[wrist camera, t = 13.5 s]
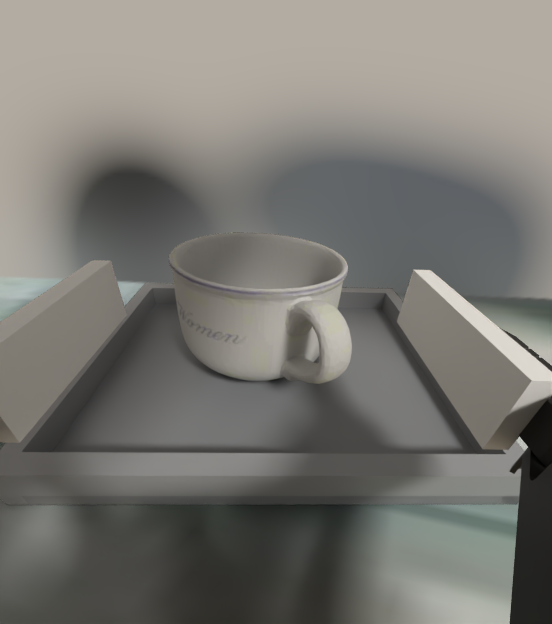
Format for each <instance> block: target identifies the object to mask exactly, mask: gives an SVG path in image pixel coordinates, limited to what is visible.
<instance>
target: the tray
mask: <svg viewBox="0 0 552 624" xmlns="http://www.w3.org/2000/svg"><path fill="white" fill-rule="evenodd" d="M402 304H403V301H402V300H401V298H400V297H399V296H398V295H397V294H396V292H395V291H394V290H393V289H391V288H347V287H342V290H341V295H340V299H339V304H338V308H337V309H338V310H339V312H340V313H341V314H342V316H343V317H344V319H345V321H346V323H347V325H348V328H349V331H350V336H351V342H352V354H351V359H350V363H349V365H348V367H347V369H346V370H345V371H344V373H343V374H341V375H340V376H339V377H338V378H336V379H333V380H331V381H329V382H325V383H320V384H314V383H307V382H304V381H301V380H296V381H290V380H287V379H286V378H285V377H283V378H278V379H274V380H268V381H247V380H241V379H237V378H233V377H229V376H226V375H223V374H221V373H218V372H216V371H214V370H212V369H211V368H209V367H207V366H206V365H204V364H203V363H202V362H201V361H199V360H198V359H197V358H196V357H195V356H194V354H193V353H192V352H191V350H190V349H189V347H188V346H187V344H186V342H185V339H184V337H183V333H182V330H181V325H180V320H179V315H178V309H177V302H176V295H175V288H174V284H171V283H145V284H144V285H143V286H142V287H141V289H140V290H139V291H138V292H137V293H136V294H135V295H134V297H133V298H132V299H131V300H130V301H129V302H128V303H127V305H126V306H125V311H126V314H127V315H126V317H125V318H124V319H123V320H122V321H121V323H120V324H119V325H118V326H117V327H116V329H115V330H114V331H113V332H112V333H111V334H110V336H109V337H108V338H107V339H106V340H105V342H104V343H103V344H102V345H101V346H100V348H99V349H98V350H97V351H96V352H95V354H94V355H93V356H92V357H91V358H90V360H89V361H88V362H87V363H86V364H85V366H84V367H83V368H82V369H81V370H80V372H79V373H78V374H77V375H76V376H75V377H74V379H73V380H72V381H71V382H70V383H69V385H68V386H67V387H66V388H65V389H64V391H63V392H62V393H61V394H60V395H59V397H58V398H57V399H56V400H55V401H54V403H53V404H52V405H51V406H50V407H49V409H48V410H47V411H46V412H45V413H44V415H43V416H42V417H41V418H40V419H39V420H38V422H37V423H36V424H35V425H34V426H33V428H32V429H31V430H30V431H29V432H28V434H27V435H26V436H25V437H24V438H23V440H22V441H21V442H20V443H5V444H4V446H3V447H2V448H1V449H0V499H1V500H2V501H3V502H4V503H5V504H6V505H293V504H518V503H519V494H520V481H521V469H518V470H517V471H516V472H515V474H513V473H511V472H509V471H510V469H511V467H512V466H513V465H514V463H515V462H516V461H517V460H518V459H519V458H520V456H521V455H522V454H523V453H524V452H525V451H524V450H523V449H522V448H521V446H520V445H519V444H518V443H517V441H515V442H514V444H513V445H512V446H511V447H510V449H509V450H491V449H482V448H481V446H480V445H479V443H478V442H477V440H476V439H475V437H474V436H473V434H472V433H471V431H470V430H469V428H468V427H467V425H466V424H465V422H464V421H463V419H462V418H461V416H460V415H459V413H458V412H457V410H456V409H455V408H454V406H453V405H452V403H451V402H450V400H449V399H448V397H447V396H446V394H445V393H444V391H443V390H442V388H441V387H440V385H439V384H438V382H437V381H436V379H435V378H434V376H433V375H432V373H431V372H430V370H429V369H428V367H427V366H426V364H425V363H424V361H423V360H422V358H421V357H420V356H419V354H418V353H417V351H416V350H415V348H414V347H413V345H412V344H411V342H410V341H409V339H408V338H407V336H406V335H405V333H404V332H403V330H402V329H401V327H400V326H399V324H398V323H397V320H398V316H399V313H400V310H401V307H402ZM319 359H320V356H319V357H318V358H317V359H316V360H315V361H314V363H319Z"/></svg>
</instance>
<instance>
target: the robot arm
mask: <svg viewBox="0 0 552 624" xmlns="http://www.w3.org/2000/svg"><path fill="white" fill-rule="evenodd" d="M126 315H127V314H126V311H125V307H124V304H123V301H122V297H121V294H120V290H119V287H118V284H117V280H116V277H115V274H114V270H113V266H112V263H111V261H99V260H93V261H91V262H89V263H88V264H86V265H85V266H84V267H82V268H80V269H79V270H78V271H76V272H75V273H73V274H71V275H70V276H69V277H67V278H65V279H64V280H62V281H61V282H59V283H58V284H56V285H55V286H53V287H52V288H50V289H49V290H47V291H46V292H44V293H43V294H41V295H40V296H38V297H37V298H35V299H34V300H33V301H31V302H30V303H28V304H27V305H25V306H24V307H22V308H21V309H19V310H18V311H16V312H15V313H13V314H12V315H10V316H9V317H7V318H6V319H4V320H3V321H1V322H0V442H4V443H20V442H21V441H22V440H23V438H24V437H25V436H26V435H27V434H28V432H29V431H30V430H31V429H32V428H33V426H34V425H35V424H36V423H37V422H38V420H39V419H40V418H41V417H42V416H43V415H44V413H45V412H46V411H47V410H48V409H49V407H50V406H51V405H52V404H53V403H54V401H55V400H56V399H57V398H58V397H59V395H60V394H61V393H62V392H63V391H64V389H65V388H66V387H67V386H68V385H69V383H70V382H71V381H72V380H73V379H74V377H75V376H76V375H77V374H78V373H79V372H80V370H81V369H82V368H83V367H84V366H85V364H86V363H87V362H88V361H89V360H90V358H91V357H92V356H93V355H94V354H95V352H96V351H97V350H98V349H99V348H100V346H101V345H102V344H103V343H104V342H105V340H106V339H107V338H108V337H109V336H110V334H111V333H112V332H113V331H114V330H115V329H116V327H117V326H118V325H119V324H120V323H121V321H122V320H123V319H124V318H125V317H126ZM397 323H398V324H399V326H400V327H401V329H402V330H403V332H404V333H405V335H406V336H407V338H408V339H409V341H410V342H411V344H412V345H413V347H414V348H415V350H416V351H417V353H418V354H419V356H420V357H421V358H422V360H423V361H424V363H425V364H426V366H427V367H428V369H429V370H430V372H431V373H432V375H433V376H434V378H435V379H436V381H437V382H438V384H439V385H440V387H441V388H442V390H443V391H444V393H445V394H446V396H447V397H448V399H449V400H450V402H451V403H452V405H453V406H454V408H455V409H456V410H457V412H458V413H459V415H460V416H461V418H462V419H463V421H464V422H465V424H466V425H467V427H468V428H469V430H470V431H471V433H472V434H473V436H474V437H475V439H476V440H477V442H478V443H479V445H480V446H481V448H482V449H491V450H509V449H510V447H511V446H512V445H513V444H514V442H515V441H516V440H517V439H518V437H519V436H520V437H521V439H522V440H523V441H524V442H525V443H526V445H527V446H528V448H527V449H526V451H525V452H524V453H523V454H522V455H521V456H520V458H519V459H518V460H517V461H516V462H515V463H514V465H513V466H512V467H511V469H510V471H509V472H511V473H513V474H515V472H516V471H517V470H518V469H521V481H520V494H519V508H518V521H517V534H516V547H515V560H514V574H513V587H512V600H511V613H510V624H552V366H551V365H550V364H549V363H548V362H546V361H545V360H544V359H543V358H539V355H538V354H537V353H535V352H534V351H533V350H532V349H528V346H527V345H525V344H524V343H523V342H522V341H521V340H519V339H518V338H517V337H516V336H514V335H512V334H510V333H508V332H506V331H505V330H503V329H501V328H499V327H498V326H496V325H495V324H494V323H493V322H492V321H491V320H489V319H488V318H487V317H486V316H485V315H483V314H482V313H481V312H480V311H479V310H477V309H476V308H475V307H474V306H473V305H471V304H470V303H469V302H468V301H467V300H465V299H464V298H463V297H462V296H461V295H459V294H458V293H457V292H456V291H455V290H453V289H452V288H451V287H450V286H449V285H447V284H446V283H445V282H444V281H443V280H441V279H440V278H439V277H438V276H437V275H435V274H434V273H433V272H432V271H431V270H413V272H412V275H411V278H410V281H409V285H408V288H407V291H406V294H405V297H404V301H403V304H402V307H401V310H400V313H399V316H398V320H397Z"/></svg>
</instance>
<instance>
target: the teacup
mask: <svg viewBox="0 0 552 624" xmlns="http://www.w3.org/2000/svg"><path fill="white" fill-rule="evenodd" d="M169 264H170V267H171V269H172V271H173V278H174V288H175V295H176V302H177V309H178V315H179V320H180V325H181V330H182V333H183V337H184V339H185V342H186V344H187V346H188V347H189V349H190V350H191V352H192V353H193V354H194V356H195V357H196V358H197V359H198V360H199V361H201V362H202V363H203V364H204V365H206V366H207V367H209V368H211V369H212V370H214V371H216V372H218V373H221V374H223V375H226V376H229V377H233V378H237V379H241V380H247V381H268V380H274V379H278V378H283V377H285V378H286V379H287V380H290V381H296V380H301V381H304V382H307V383H314V384H320V383H325V382H329V381H331V380H333V379H336V378H338V377H339V376H340V375H341V374H343V373H344V371H345V370H346V369H347V367H348V365H349V363H350V359H351V354H352V342H351V336H350V331H349V328H348V325H347V323H346V321H345V319H344V317H343V316H342V314H341V313H340V312H339V310H338V309H337V308H338V304H339V299H340V295H341V290H342V285H343V281H344V279H345V277H346V276H347V273H348V265H347V262H346V260H345V259H344V258H343V257H342V256H341V255H340V254H339V253H337V252H336V251H334V250H332V249H330V248H328V247H326V246H324V245H321V244H318V243H315V242H310V241H308V240H304V239H300V238H295V237H291V236H284V235H276V234H267V233H242V232H233V233H223V234H213V235H207V236H202V237H198V238H194V239H191V240H189V241H186V242H184V243H182V244H180V245H178V246H176V247H175V248H174V249H173V250H172V251H171V253H170V255H169ZM319 356H320V359H319V363H314V361H315V360H316V359H317V358H318V357H319Z"/></svg>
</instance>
